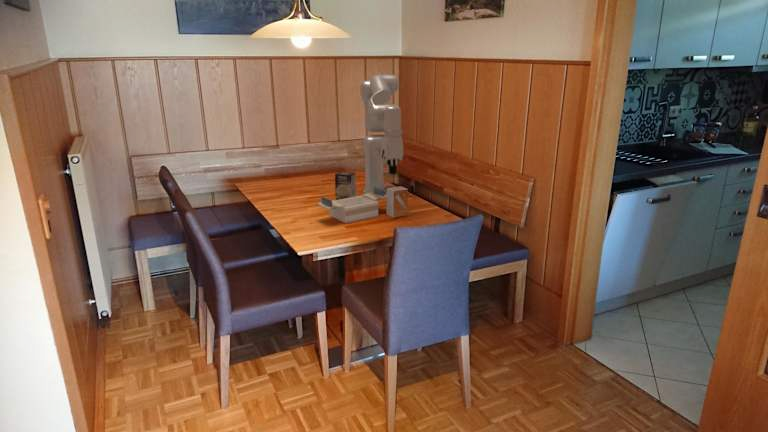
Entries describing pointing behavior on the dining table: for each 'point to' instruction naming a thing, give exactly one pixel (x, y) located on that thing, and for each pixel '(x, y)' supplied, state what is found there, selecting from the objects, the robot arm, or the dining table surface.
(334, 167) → the dining table surface
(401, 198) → the small box
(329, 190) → the dining table surface
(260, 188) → the dining table surface
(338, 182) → the coffee box
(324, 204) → the lid panel
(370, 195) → the lid panel
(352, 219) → the carton
